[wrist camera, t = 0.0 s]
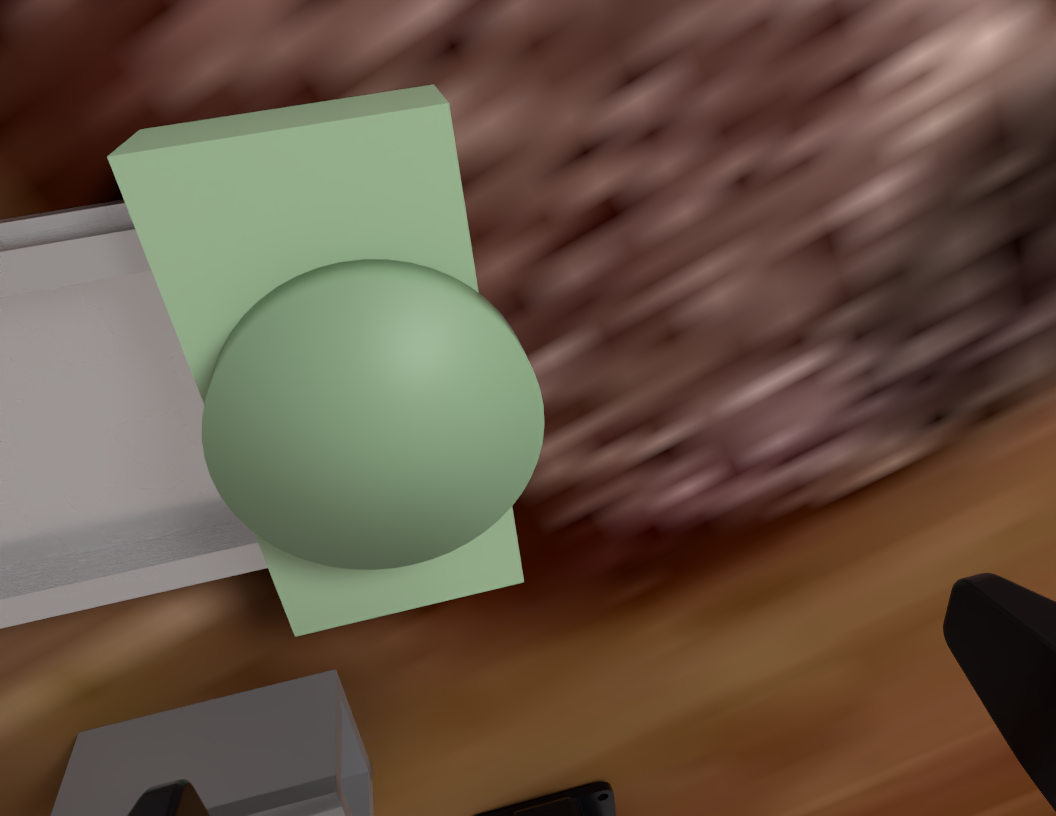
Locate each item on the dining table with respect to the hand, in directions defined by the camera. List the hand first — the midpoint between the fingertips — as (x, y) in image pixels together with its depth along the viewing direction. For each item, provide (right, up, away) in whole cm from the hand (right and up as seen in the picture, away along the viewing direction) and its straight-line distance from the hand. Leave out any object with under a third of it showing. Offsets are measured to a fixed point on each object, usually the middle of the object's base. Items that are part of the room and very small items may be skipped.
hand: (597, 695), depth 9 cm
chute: (-12, -10, +20) cm, 25 cm away
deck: (-11, +4, +13) cm, 17 cm away
